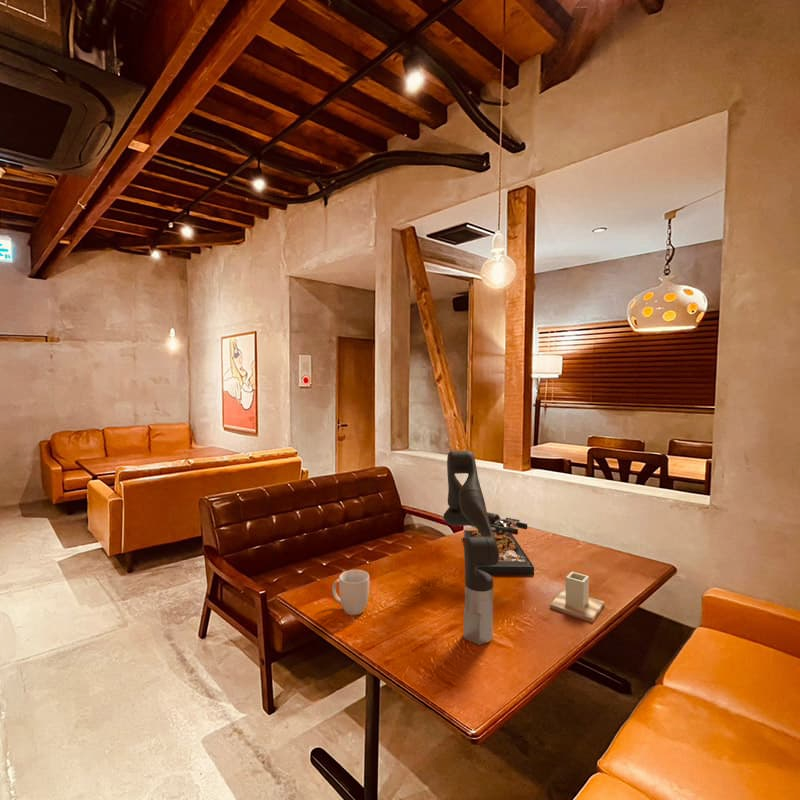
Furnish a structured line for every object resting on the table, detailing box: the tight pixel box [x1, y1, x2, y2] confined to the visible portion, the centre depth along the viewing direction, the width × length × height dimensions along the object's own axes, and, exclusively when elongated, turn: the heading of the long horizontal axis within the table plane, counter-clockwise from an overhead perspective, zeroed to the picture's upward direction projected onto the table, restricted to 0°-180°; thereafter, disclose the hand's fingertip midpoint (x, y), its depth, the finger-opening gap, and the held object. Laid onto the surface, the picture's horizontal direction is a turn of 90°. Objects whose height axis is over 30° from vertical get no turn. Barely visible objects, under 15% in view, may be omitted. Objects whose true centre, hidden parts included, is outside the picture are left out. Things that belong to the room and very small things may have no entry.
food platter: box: [463, 529, 535, 576], centre depth 211 cm, size 45×25×10 cm, turn 179°
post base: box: [549, 588, 605, 623], centre depth 162 cm, size 15×15×8 cm
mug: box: [331, 569, 370, 616], centre depth 160 cm, size 15×11×13 cm
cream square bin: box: [565, 571, 590, 609], centre depth 162 cm, size 6×6×10 cm
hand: (522, 529), depth 174 cm, fingers open, 8 cm apart
